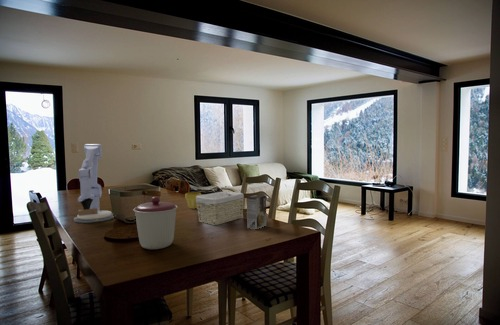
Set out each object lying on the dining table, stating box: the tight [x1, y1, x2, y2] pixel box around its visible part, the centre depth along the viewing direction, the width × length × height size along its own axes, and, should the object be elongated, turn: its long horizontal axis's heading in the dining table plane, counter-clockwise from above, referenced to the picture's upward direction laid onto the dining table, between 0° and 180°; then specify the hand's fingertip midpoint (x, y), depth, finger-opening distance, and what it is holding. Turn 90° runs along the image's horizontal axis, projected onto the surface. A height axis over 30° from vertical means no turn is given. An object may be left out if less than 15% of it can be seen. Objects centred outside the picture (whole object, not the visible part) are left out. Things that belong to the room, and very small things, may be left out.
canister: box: [133, 196, 179, 250], centre depth 140 cm, size 18×18×21 cm
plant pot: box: [184, 192, 202, 210], centre depth 221 cm, size 10×10×10 cm
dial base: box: [73, 213, 115, 224], centre depth 192 cm, size 22×22×2 cm
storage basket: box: [196, 190, 245, 226], centre depth 185 cm, size 24×16×15 cm
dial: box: [76, 208, 112, 220], centre depth 192 cm, size 18×18×4 cm
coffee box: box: [246, 194, 267, 230], centre depth 169 cm, size 9×6×16 cm
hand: (86, 211), depth 194 cm, fingers closed
